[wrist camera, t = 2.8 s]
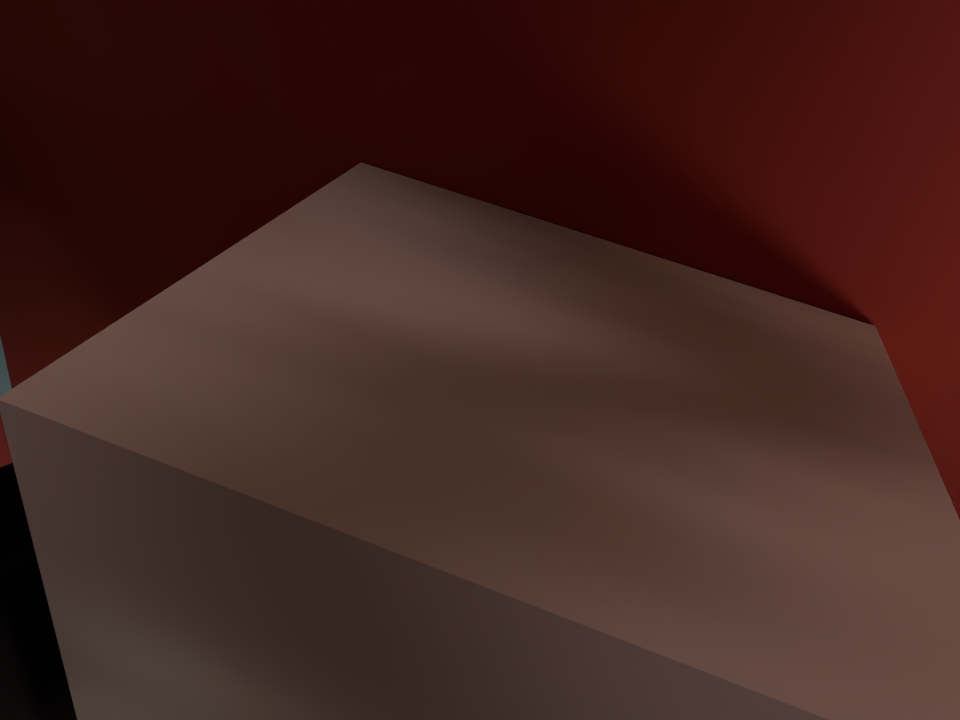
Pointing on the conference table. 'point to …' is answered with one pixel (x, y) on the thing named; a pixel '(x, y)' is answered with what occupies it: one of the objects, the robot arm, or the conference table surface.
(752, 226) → the conference table surface
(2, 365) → the teal block
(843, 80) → the conference table surface
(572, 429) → the birch block
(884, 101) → the conference table surface
